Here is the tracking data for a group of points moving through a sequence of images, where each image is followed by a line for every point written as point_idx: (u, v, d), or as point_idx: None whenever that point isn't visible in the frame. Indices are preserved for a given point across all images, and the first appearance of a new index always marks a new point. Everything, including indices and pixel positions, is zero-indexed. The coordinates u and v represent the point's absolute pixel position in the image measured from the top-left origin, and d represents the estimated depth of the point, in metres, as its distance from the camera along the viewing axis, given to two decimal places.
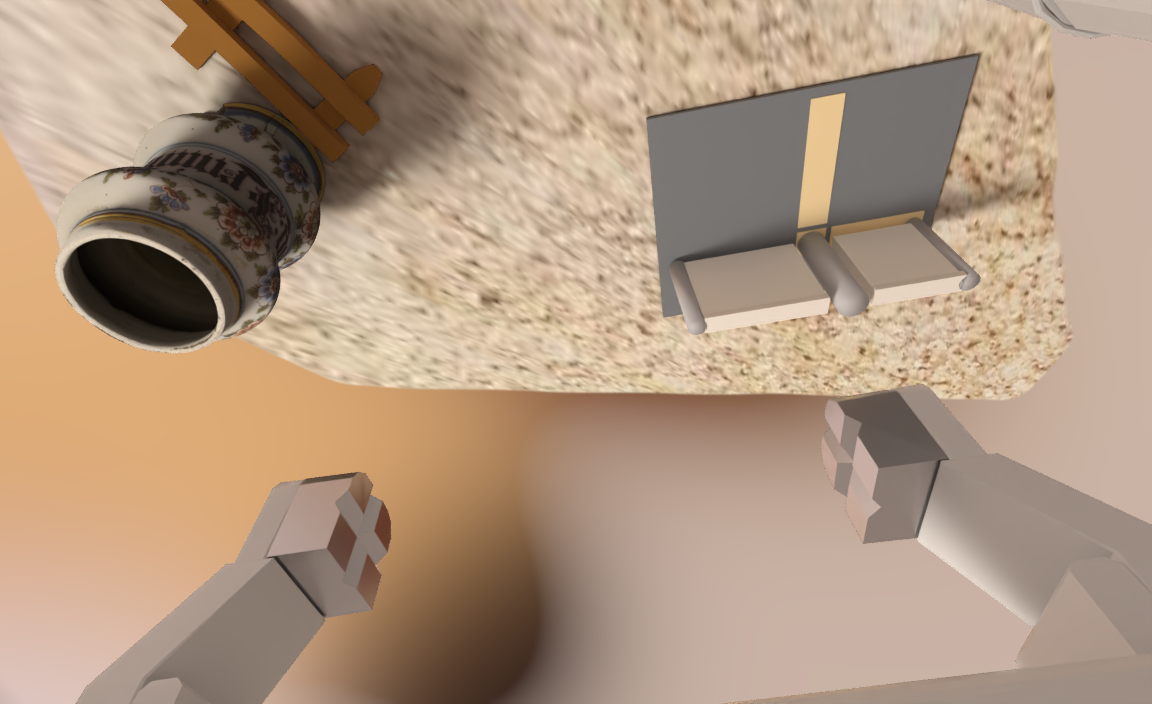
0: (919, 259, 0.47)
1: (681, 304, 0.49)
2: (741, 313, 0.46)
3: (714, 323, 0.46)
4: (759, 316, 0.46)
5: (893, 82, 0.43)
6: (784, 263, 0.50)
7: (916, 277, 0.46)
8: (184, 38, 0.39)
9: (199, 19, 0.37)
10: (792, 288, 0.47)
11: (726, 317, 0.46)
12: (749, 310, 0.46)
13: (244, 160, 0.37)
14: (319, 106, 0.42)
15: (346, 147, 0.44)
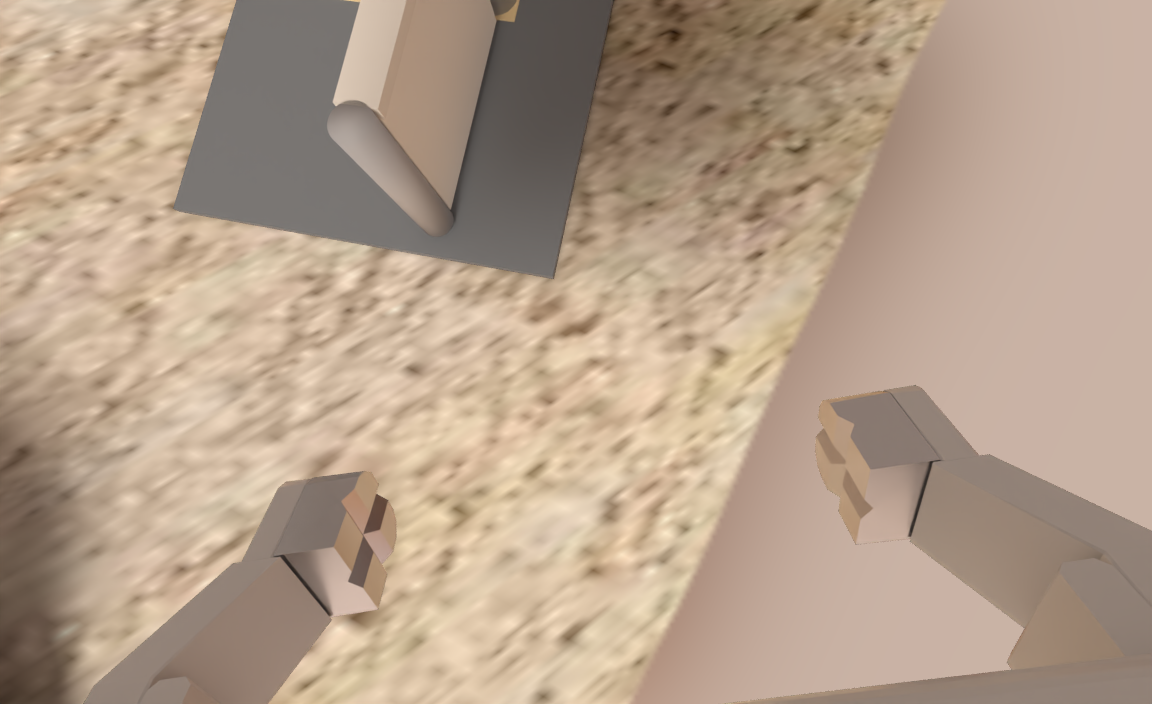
0: None
1: (376, 181, 0.21)
2: (359, 22, 0.19)
3: (358, 83, 0.19)
4: None
5: None
6: None
7: None
8: None
9: None
10: None
11: (352, 55, 0.19)
12: (360, 4, 0.19)
13: None
14: None
15: None
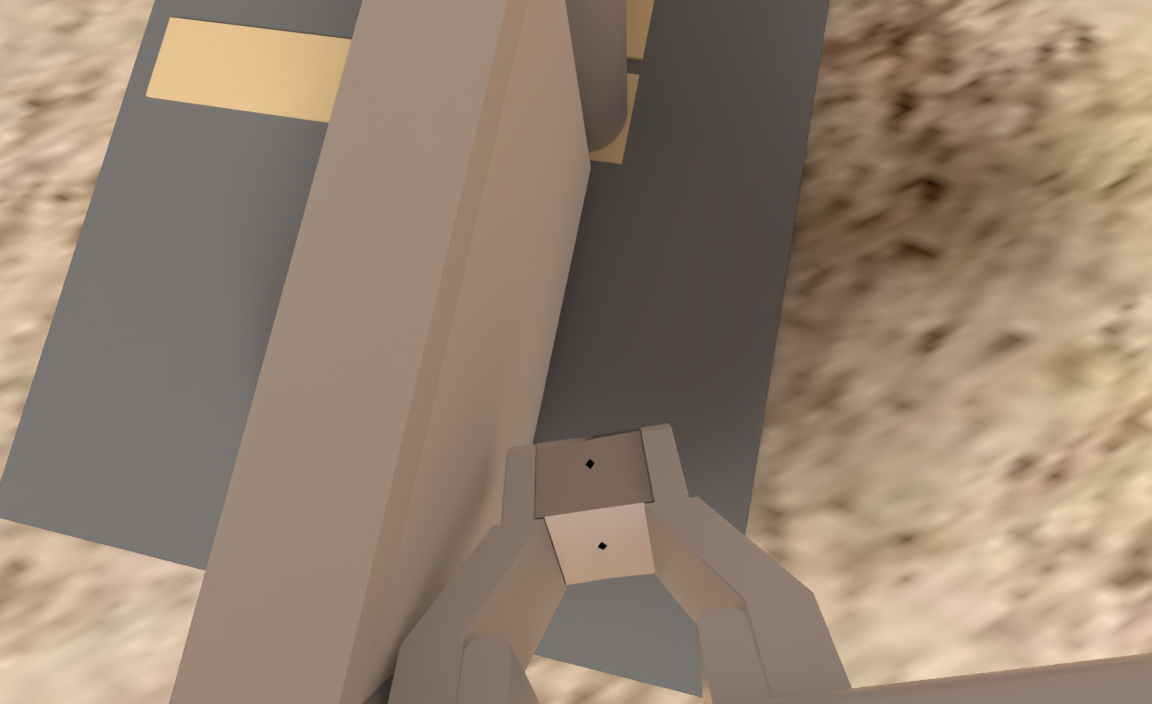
0: None
1: None
2: (266, 409, 0.06)
3: (255, 654, 0.05)
4: (357, 278, 0.06)
5: None
6: None
7: None
8: None
9: None
10: None
11: (237, 539, 0.05)
12: (270, 343, 0.06)
13: None
14: None
15: None
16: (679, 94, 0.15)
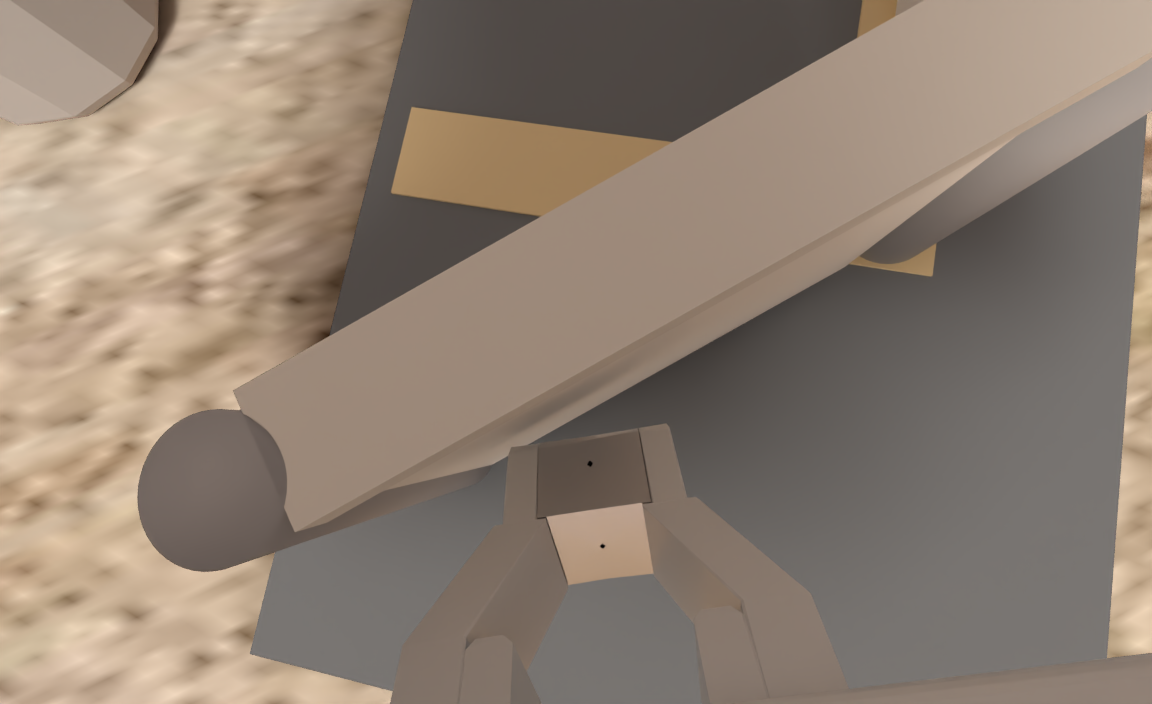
0: None
1: None
2: (490, 261, 0.06)
3: (325, 413, 0.06)
4: (644, 239, 0.06)
5: None
6: None
7: None
8: None
9: None
10: None
11: (386, 328, 0.06)
12: (539, 218, 0.06)
13: None
14: None
15: None
16: None
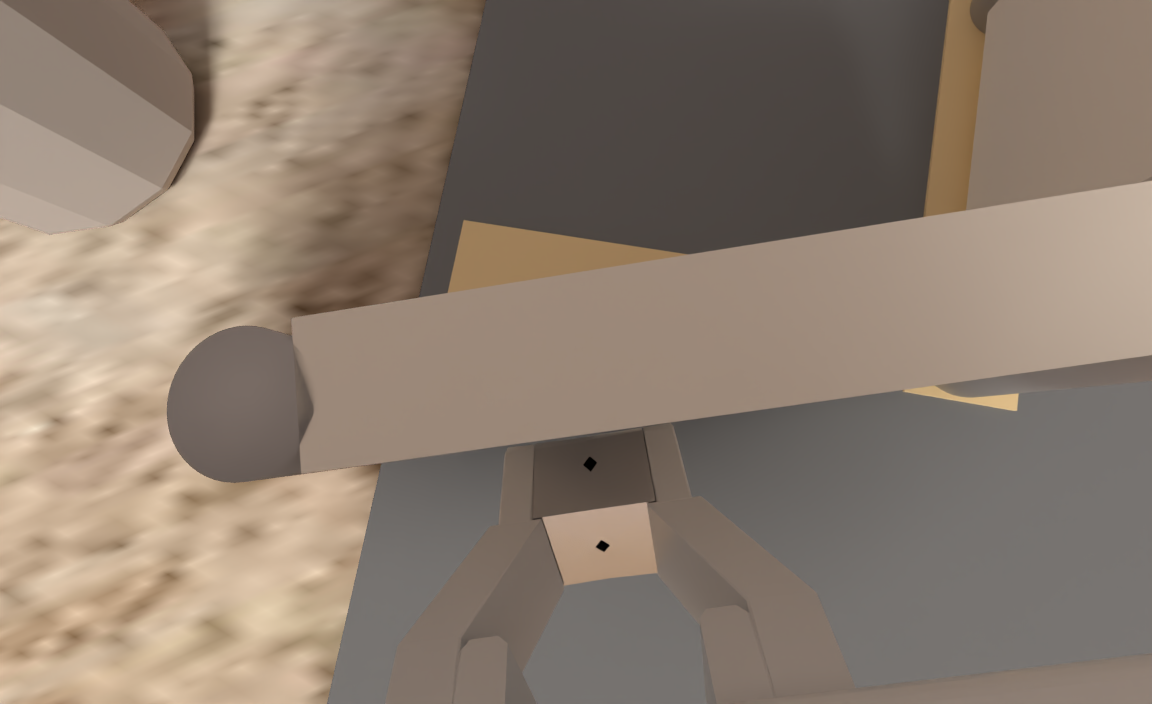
0: None
1: None
2: (575, 287, 0.06)
3: (368, 373, 0.06)
4: (733, 323, 0.05)
5: (489, 100, 0.16)
6: None
7: None
8: None
9: None
10: None
11: (455, 314, 0.06)
12: None
13: None
14: None
15: None
16: None
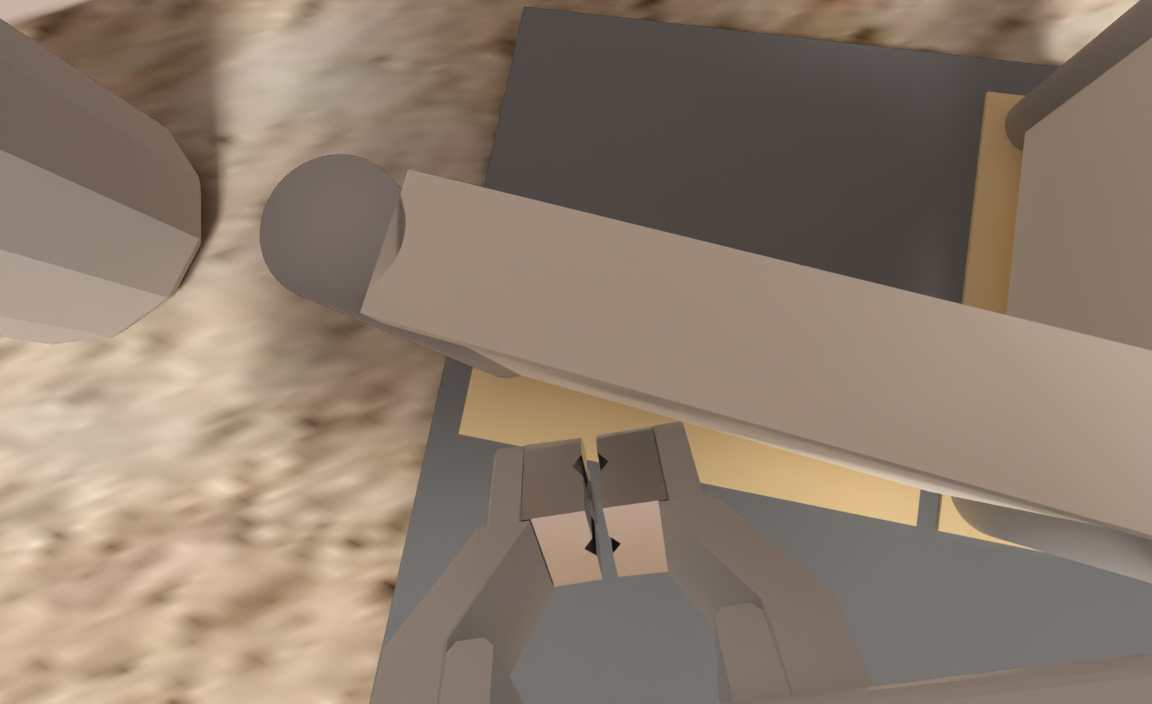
0: None
1: None
2: (680, 251, 0.06)
3: (457, 249, 0.06)
4: (816, 347, 0.05)
5: None
6: None
7: None
8: None
9: None
10: None
11: (557, 228, 0.06)
12: (749, 252, 0.06)
13: None
14: None
15: None
16: None
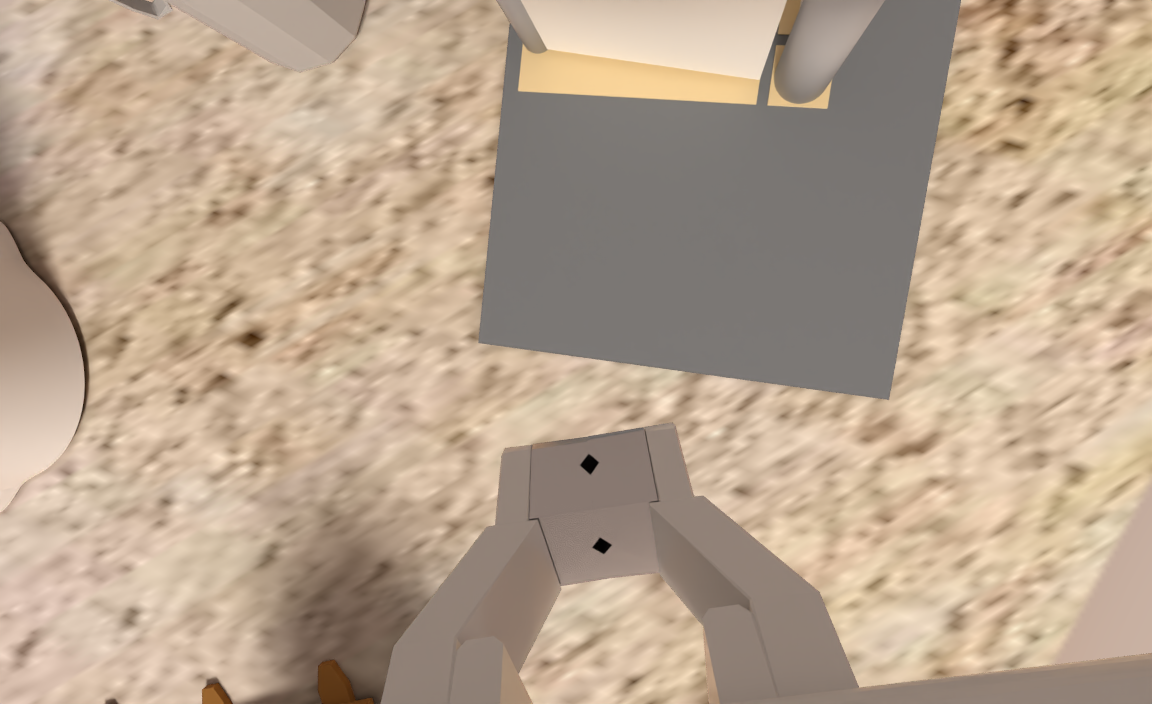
0: None
1: None
2: None
3: None
4: None
5: None
6: None
7: None
8: None
9: None
10: None
11: None
12: None
13: None
14: None
15: None
16: (863, 58, 0.25)
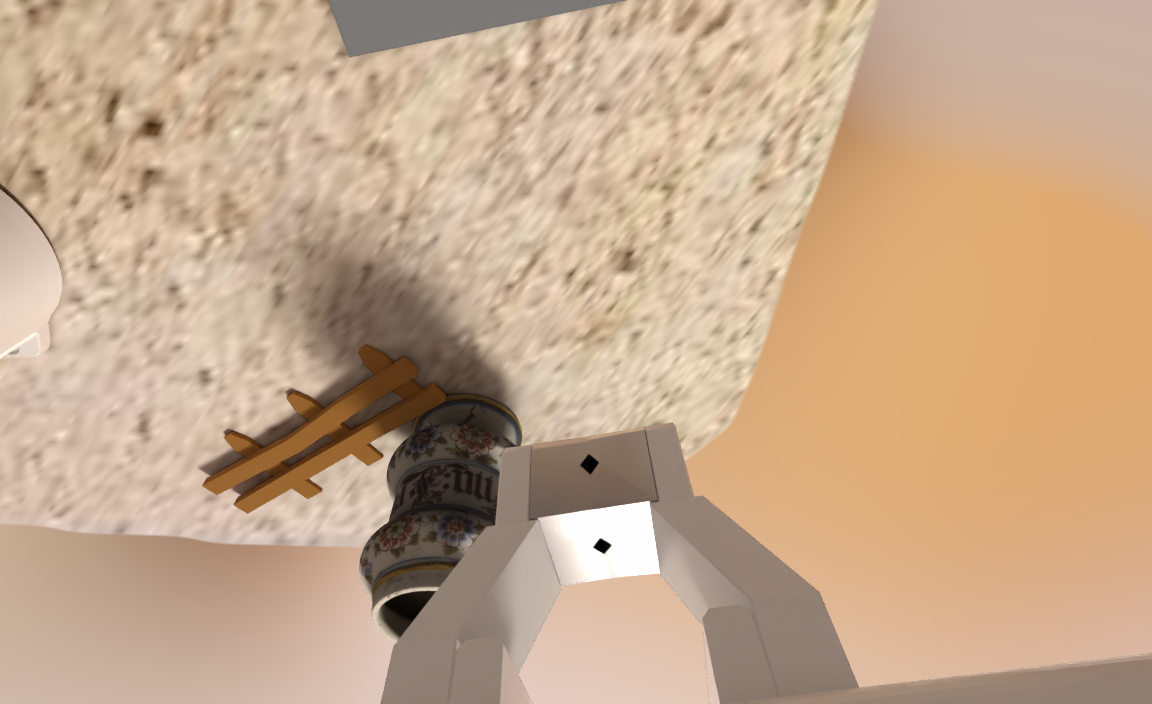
0: None
1: None
2: None
3: None
4: None
5: None
6: None
7: None
8: (360, 457, 0.53)
9: (339, 450, 0.51)
10: None
11: None
12: None
13: (403, 476, 0.44)
14: (400, 395, 0.49)
15: (430, 388, 0.47)
16: None
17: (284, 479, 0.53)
